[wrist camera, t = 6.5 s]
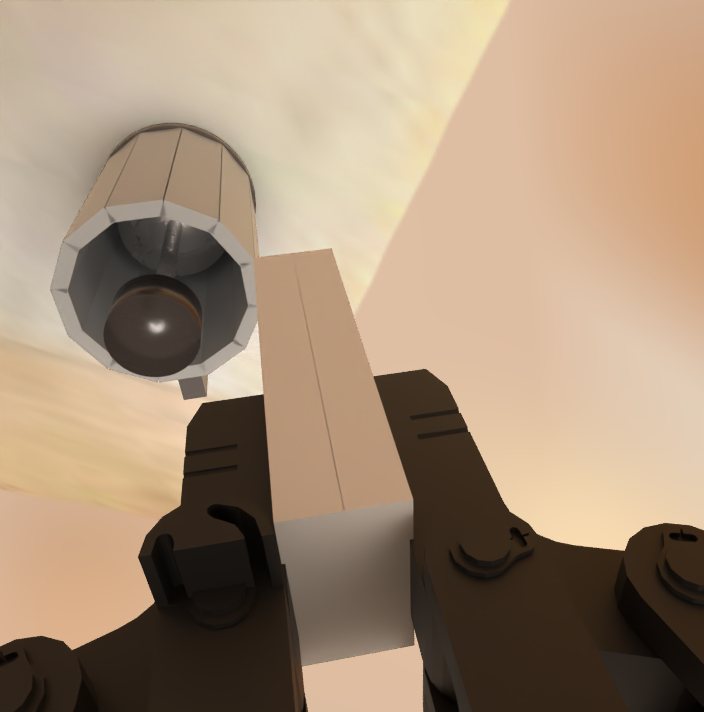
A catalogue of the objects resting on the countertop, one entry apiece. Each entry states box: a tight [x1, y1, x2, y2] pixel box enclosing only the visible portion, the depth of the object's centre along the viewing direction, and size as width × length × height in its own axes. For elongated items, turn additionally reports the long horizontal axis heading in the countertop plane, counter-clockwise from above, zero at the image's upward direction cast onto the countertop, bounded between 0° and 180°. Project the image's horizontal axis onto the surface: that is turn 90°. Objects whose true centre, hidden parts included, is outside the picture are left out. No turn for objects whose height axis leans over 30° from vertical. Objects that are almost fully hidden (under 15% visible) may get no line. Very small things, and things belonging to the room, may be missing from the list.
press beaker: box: [50, 123, 259, 400], centre depth 41 cm, size 13×11×15 cm
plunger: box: [103, 216, 225, 377], centre depth 36 cm, size 7×7×15 cm
